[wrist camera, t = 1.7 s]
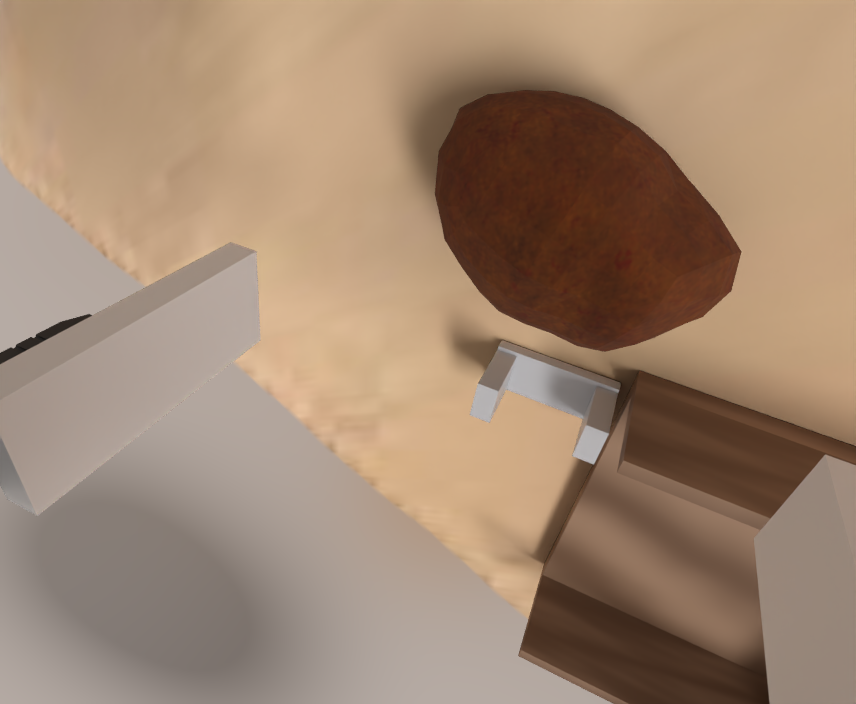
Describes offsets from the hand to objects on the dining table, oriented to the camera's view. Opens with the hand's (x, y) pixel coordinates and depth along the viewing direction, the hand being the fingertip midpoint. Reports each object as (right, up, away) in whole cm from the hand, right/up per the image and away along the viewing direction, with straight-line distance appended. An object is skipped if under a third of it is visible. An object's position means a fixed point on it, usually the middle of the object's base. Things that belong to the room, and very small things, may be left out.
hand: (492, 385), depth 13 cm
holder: (+14, -9, +16) cm, 23 cm away
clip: (+5, -1, +15) cm, 15 cm away
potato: (+5, +7, +10) cm, 13 cm away
